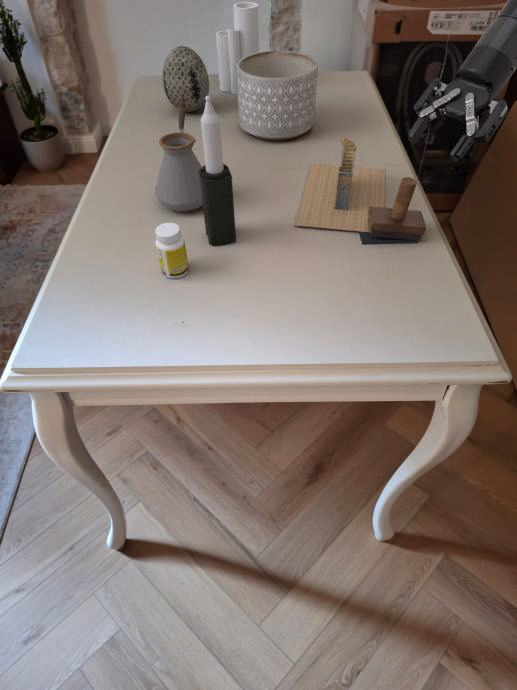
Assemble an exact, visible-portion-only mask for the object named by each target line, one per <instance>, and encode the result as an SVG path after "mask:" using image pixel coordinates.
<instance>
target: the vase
mask: <svg viewBox="0 0 517 690" xmlns="http://www.w3.org/2000/svg"><path fill="white" fill-rule="evenodd" d="M232 7H233V24H234V25H233V28H228V29H226V30H219V31H217V32H215V41H216V54H217V65H218V81H219V82H218V83H219V90H220V91H222V92H226V93H229V92H230V93H231V95H233V96H234V95H235V96H238V89H237V69H236V65H237V62H238V61H239V60H240V59H241V58H243V57H245V56H247V55H250V54H253V53H257V52H260V34H259V33H260V27H259V26H260V25H259V24H260V23H259V21H260V20H259V3H258V2H255V1H254V2H253V1H240V2H236V3H234V4H233V5H232Z"/></svg>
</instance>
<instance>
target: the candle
mask: <svg viewBox="0 0 517 690" xmlns="http://www.w3.org/2000/svg"><path fill="white" fill-rule="evenodd" d="M205 100H206V101H205V105H204V111H203V114H202V116H201V117H200V125H201V126H200V127H201V136H202V146H203V156H204V165H203V166H202V168H201V169H200V170H199V178H200V186H201V194H202V203H203V205H202V209H203V211H202V212H203V218H204V226H205V227H204V228H205V235H206V236H207V240H208V245H210V246H212V247H219V246H225V245H231V244H234V243H235V242H236V241H237V234H236V233H237V232H236V231H237V230H236V218H235V204H234V189H233V188H234V187H233V175H232V172H231V171H230V168H229V166H228V165H227V164H226V163H224V158H223V156H224V155H223V145H222V133H221V132H222V131H221V120H220V119H221V118H220V117H219V115H218V114H217V113H216V111H215V109H214V106H213V104H212V97H211V96H210V95H208V96H206V98H205Z"/></svg>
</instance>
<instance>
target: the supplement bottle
mask: <svg viewBox="0 0 517 690" xmlns="http://www.w3.org/2000/svg"><path fill="white" fill-rule="evenodd" d="M154 232H155V238H156V239H155V248H156V253H157V257H158V262H159V266H160V270H161V273H162V275H163V276H164V277H166V278H168V279H181V278H182V277H184V276H186V275H187V274H188V273H189V270H190V265H189V258H188V253H187V246H186V241H185V237H184V236H183V235H182V231H181V227H180V225H178V224H177V223H175V222H164V223H161V224H159V225H158V226H157V227H156V228H155V231H154Z"/></svg>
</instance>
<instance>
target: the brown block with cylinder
mask: <svg viewBox="0 0 517 690" xmlns="http://www.w3.org/2000/svg"><path fill="white" fill-rule="evenodd" d="M417 184H418V181H417V180H416V179H415V178H413V177H410V176H404V177H402V178H401V180H400V183H399V187H398V190H397V192H396V196H395V199H394V202H393V205H392V207H384V208H383V207H372V206H370V207H369V211H368V226H369V232H370V236H371V237H382V238H393V239H404V240H414V241H418V242H420V240H421V238H422V236H424V235H425V233H426V231H427V225H426V222H425V218H424V215H423V212H422V210H414V209H409V208H410V205H411V202H412V199H413V197H414V196H413V195H414V193H415V190H416V187H417Z"/></svg>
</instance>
